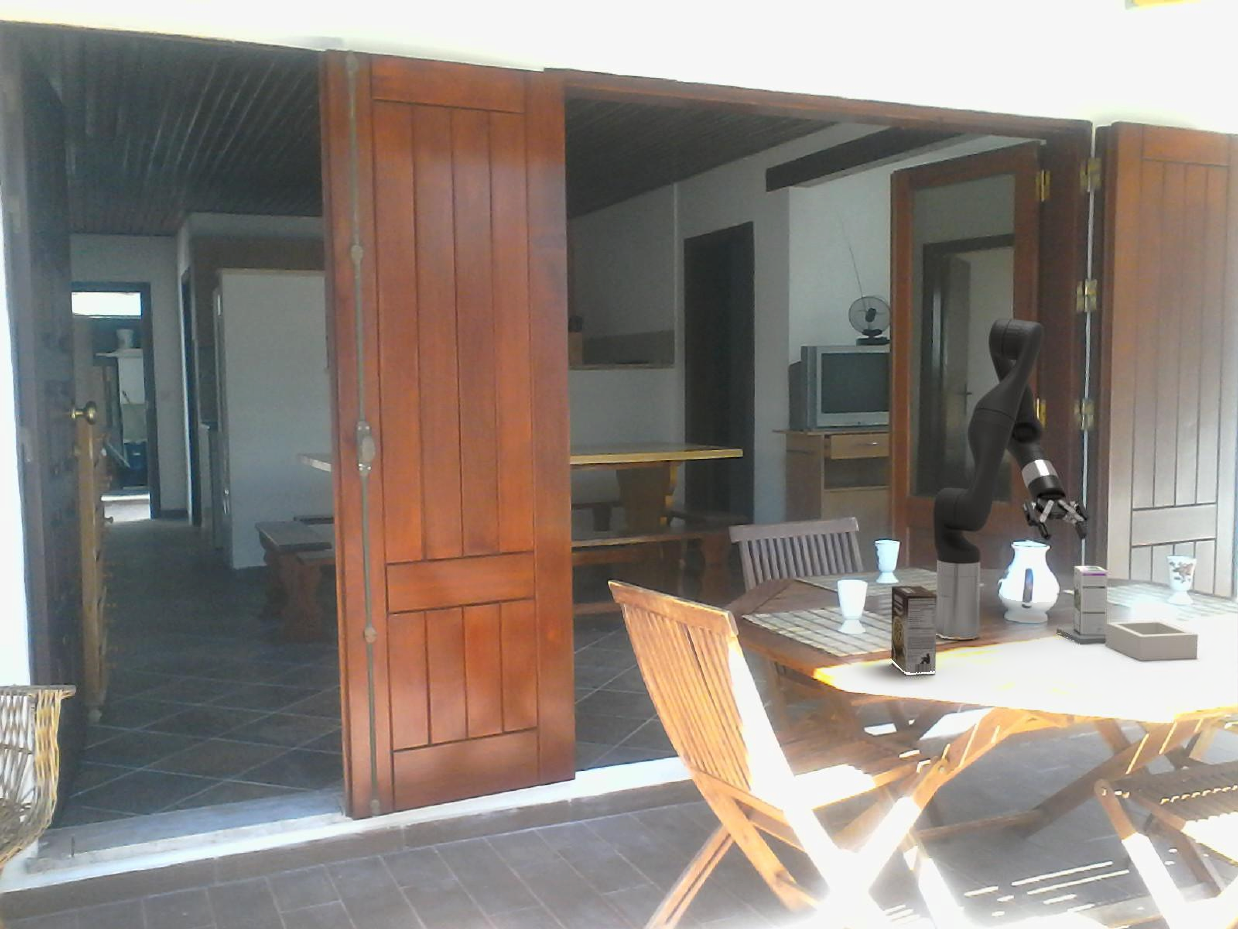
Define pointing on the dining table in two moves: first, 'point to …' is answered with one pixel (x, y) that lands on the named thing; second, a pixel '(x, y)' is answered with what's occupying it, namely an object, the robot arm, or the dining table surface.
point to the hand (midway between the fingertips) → (1066, 538)
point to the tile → (1081, 636)
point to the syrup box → (1090, 600)
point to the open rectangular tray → (1151, 640)
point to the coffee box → (914, 628)
